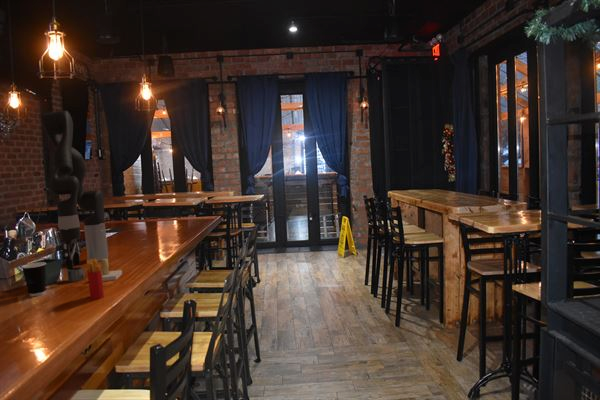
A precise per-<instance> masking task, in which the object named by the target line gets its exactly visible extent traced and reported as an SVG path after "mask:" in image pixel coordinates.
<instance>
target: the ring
mask: <svg viewBox="0 0 600 400" xmlns="http://www.w3.org/2000/svg"><path fill="white" fill-rule="evenodd" d="M66 276H67V282H68V283H74V282H80V281H83V280H85V276H86V275H85V270H84V267H83V266H75V267H74V266H73V269H72V270H67V269H66Z"/></svg>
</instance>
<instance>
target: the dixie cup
mask: <svg viewBox="0 0 600 400" xmlns="http://www.w3.org/2000/svg"><path fill="white" fill-rule="evenodd" d="M30 263H31V264H28V263H27V264H24V265H22V266H21V267H20V268H21V269H22V272H23V276H24V280H25V285H26V288H27V291H28V294H29V296H30V297H39V296H43V295H45V294H46V286H47V285H46V276H45V264H46V263H45V262H38V263H32V262H30Z"/></svg>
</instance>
